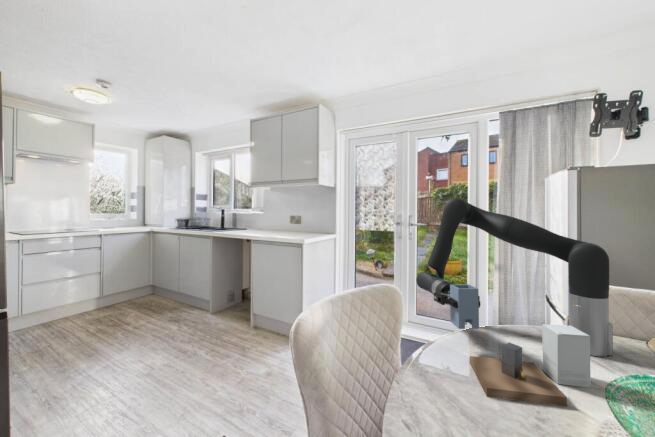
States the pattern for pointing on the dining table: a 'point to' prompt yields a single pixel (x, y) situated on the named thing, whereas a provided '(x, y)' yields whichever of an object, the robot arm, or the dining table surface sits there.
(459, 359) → the dining table surface
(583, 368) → the supplement box
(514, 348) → the post
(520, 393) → the base plate
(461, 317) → the sleeve
